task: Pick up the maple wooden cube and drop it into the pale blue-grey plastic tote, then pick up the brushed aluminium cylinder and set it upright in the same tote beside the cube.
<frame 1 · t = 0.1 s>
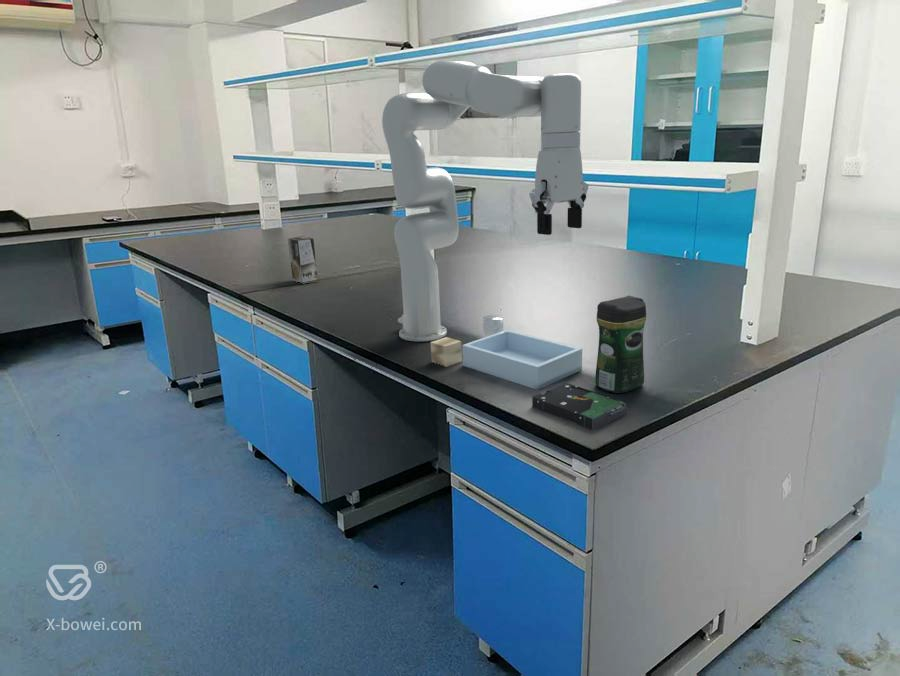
hand: (559, 230, 132), 31 cm above the worktop, tool pointing down, fingers open, 9 cm apart
wooden cube: (446, 362, 153), on the worktop
disk drive: (578, 413, 124), on the worktop
aluminium cylinder: (493, 344, 163), on the worktop
tote: (521, 367, 147), on the worktop
coffee box: (305, 282, 242), on the worktop
coffee jar: (618, 386, 134), on the worktop
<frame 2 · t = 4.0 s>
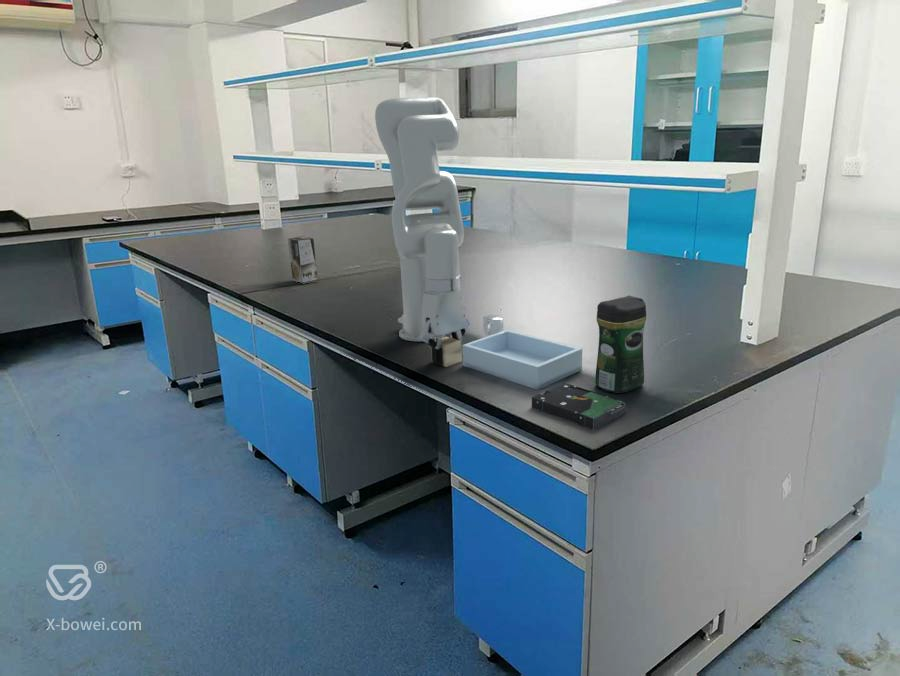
hand: (446, 359, 153), 0 cm above the worktop, tool pointing down, fingers closed on wooden cube, 5 cm apart
wooden cube: (446, 361, 153), on the worktop, touching gripper
everything else where it was.
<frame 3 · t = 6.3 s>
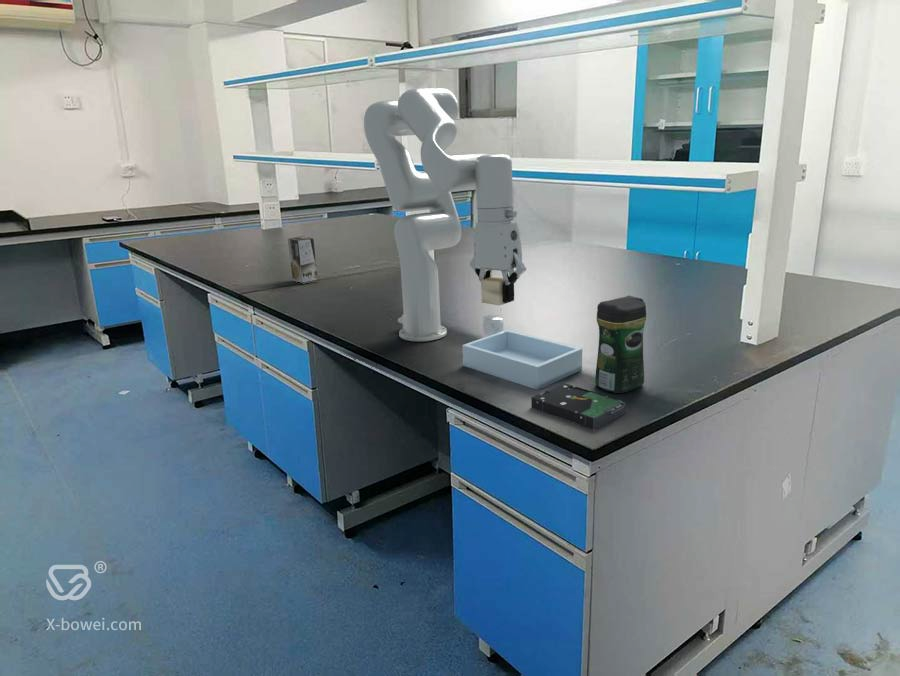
hand: (498, 299, 142), 16 cm above the worktop, tool pointing down, fingers closed on wooden cube, 4 cm apart
wooden cube: (498, 301, 142), point 16 cm above the worktop, touching gripper
everything else where it was.
when the fingers open (4 cm above the worktop, at t = 9.0 s): wooden cube drops 3 cm, resting on tote.
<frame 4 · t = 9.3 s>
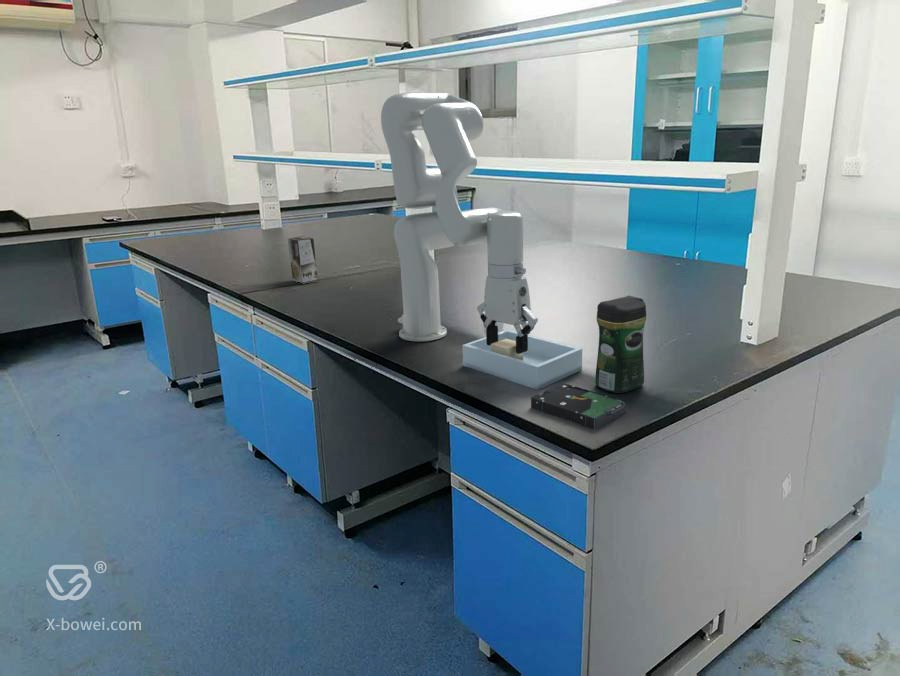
hand: (506, 347, 145), 5 cm above the worktop, tool pointing down, fingers open, 8 cm apart
wooden cube: (507, 364, 146), point 1 cm above the worktop, touching tote
everything else where it was.
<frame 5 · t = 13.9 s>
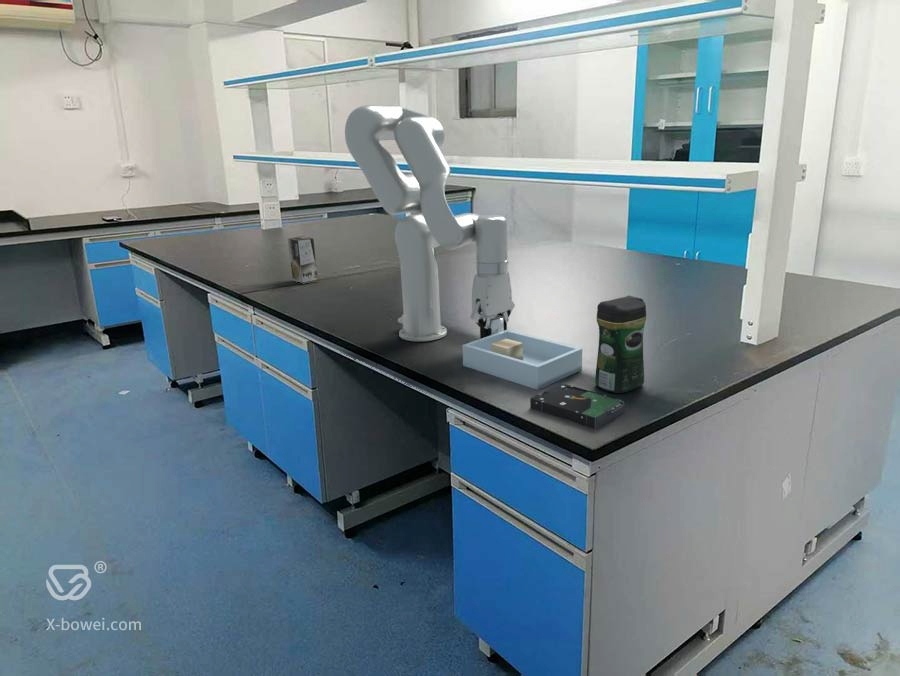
hand: (493, 339, 163), 1 cm above the worktop, tool pointing down, fingers closed on aluminium cylinder, 5 cm apart
aluminium cylinder: (493, 344, 163), on the worktop, touching gripper
everything else where it was.
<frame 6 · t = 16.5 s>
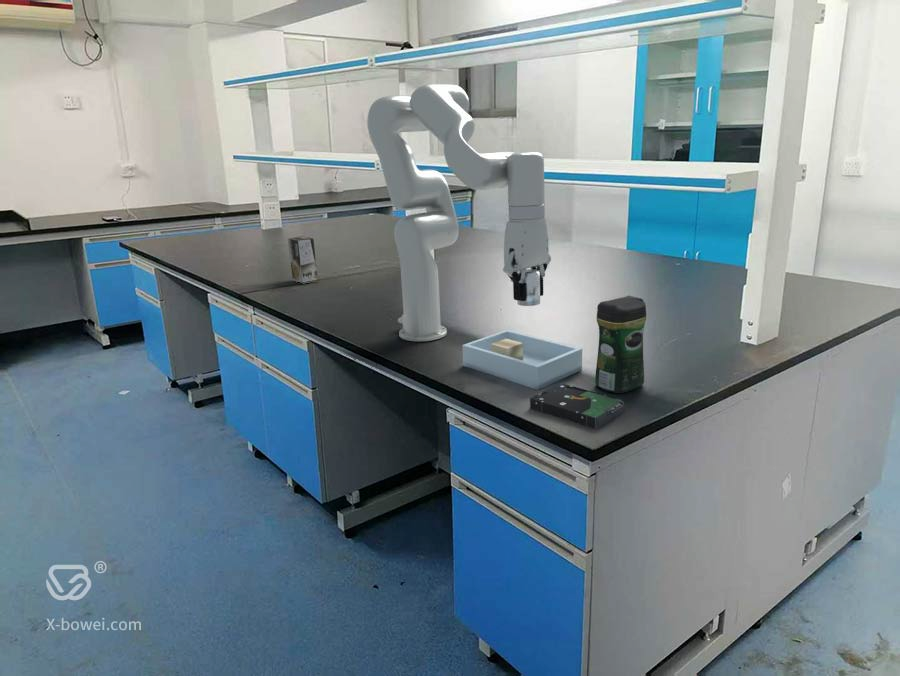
hand: (528, 296, 142), 16 cm above the worktop, tool pointing down, fingers closed on aluminium cylinder, 5 cm apart
aluminium cylinder: (528, 303, 143), point 15 cm above the worktop, touching gripper
everything else where it was.
when the fingers open (4 cm above the worktop, at t = 19.4 s): aluminium cylinder drops 2 cm, resting on tote.
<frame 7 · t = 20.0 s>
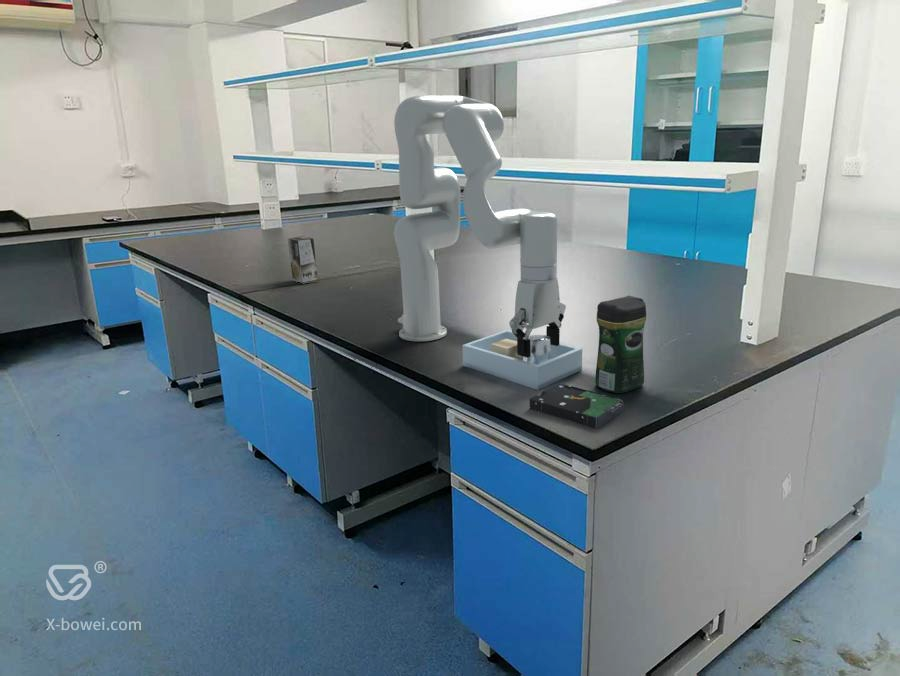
hand: (538, 350, 141), 5 cm above the worktop, tool pointing down, fingers open, 9 cm apart
aluminium cylinder: (538, 368, 143), point 1 cm above the worktop, touching tote
everything else where it was.
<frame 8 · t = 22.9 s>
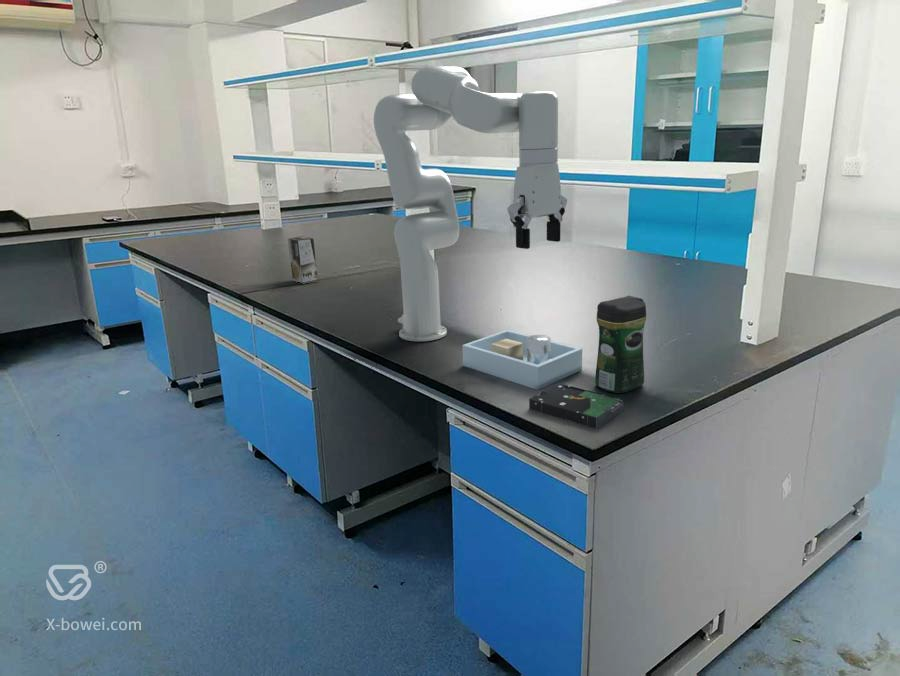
hand: (538, 244, 134), 28 cm above the worktop, tool pointing down, fingers open, 9 cm apart
nothing on the worktop moved.
at the end: wooden cube inside the target area on the tote (3.2 cm from its centre), point 1.0 cm above the tote's base; aluminium cylinder inside the target area on the tote (5.0 cm from its centre), point 1.0 cm above the tote's base; aluminium cylinder tilted 0° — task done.
